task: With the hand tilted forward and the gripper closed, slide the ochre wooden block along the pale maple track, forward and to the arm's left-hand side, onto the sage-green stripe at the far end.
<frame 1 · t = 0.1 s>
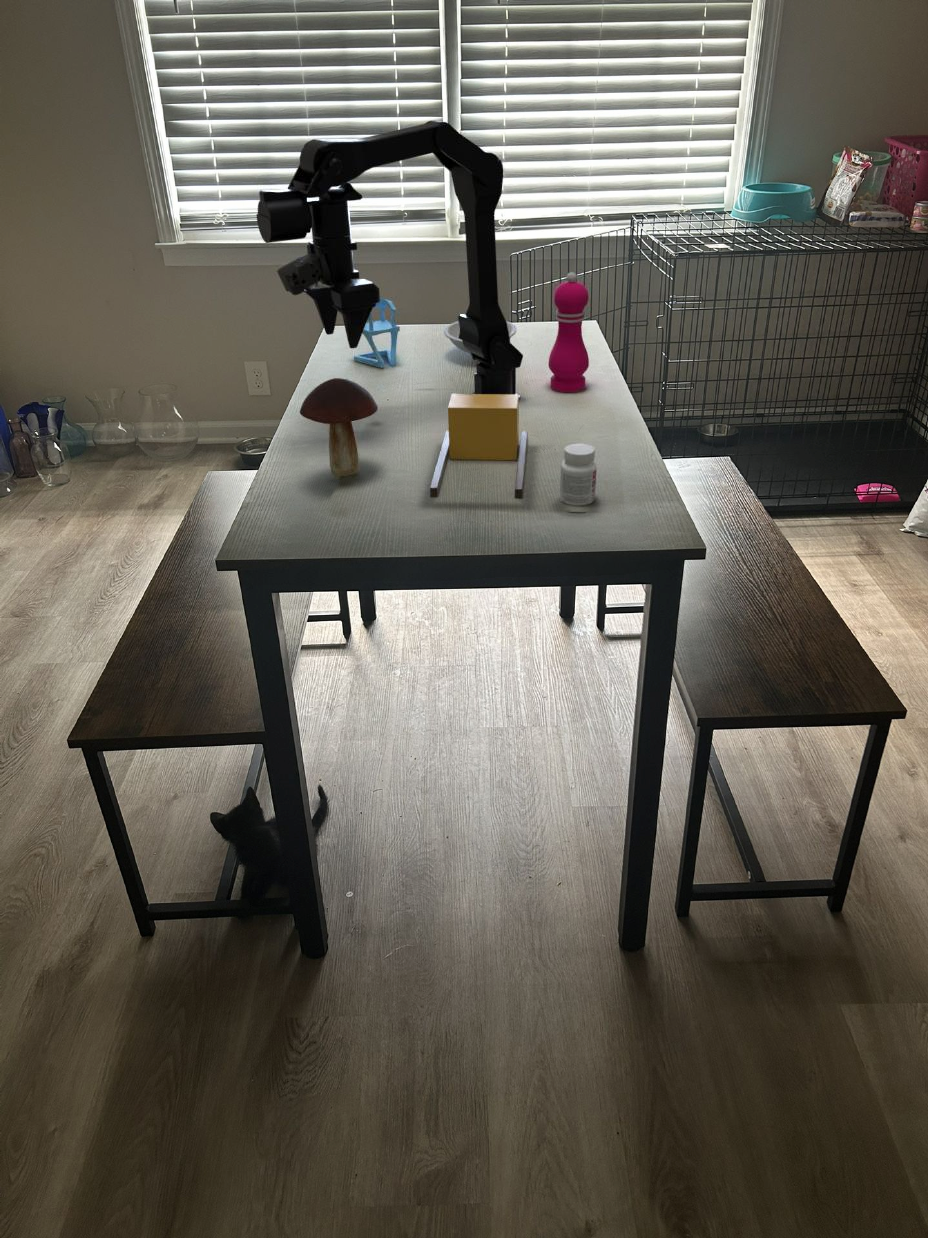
hand: (341, 340, 148), 15 cm above the table, tool pointing down, fingers open, 9 cm apart
ochre block: (484, 426, 141), point 5 cm above the table, slide at 0.0 cm
pepper mill: (567, 387, 172), on the table
decorative mushroom: (345, 480, 139), on the table
chair: (380, 362, 187), on the table
dish: (480, 355, 190), on the table
pill bottle: (576, 508, 129), on the table
maple track: (481, 475, 139), on the table
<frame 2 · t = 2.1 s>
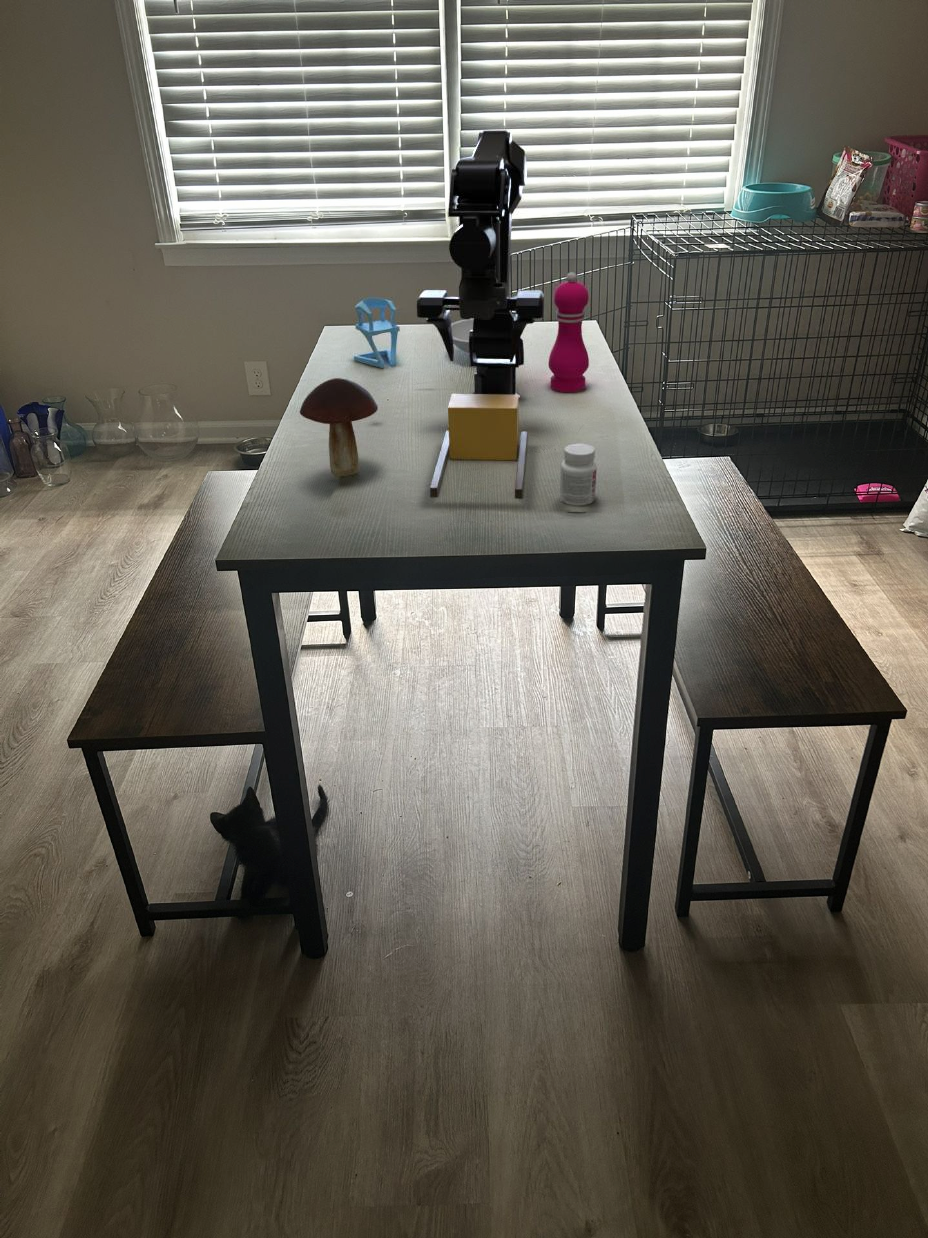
hand: (481, 361, 146), 12 cm above the table, tool pointing down, fingers open, 9 cm apart
nothing on the table moved.
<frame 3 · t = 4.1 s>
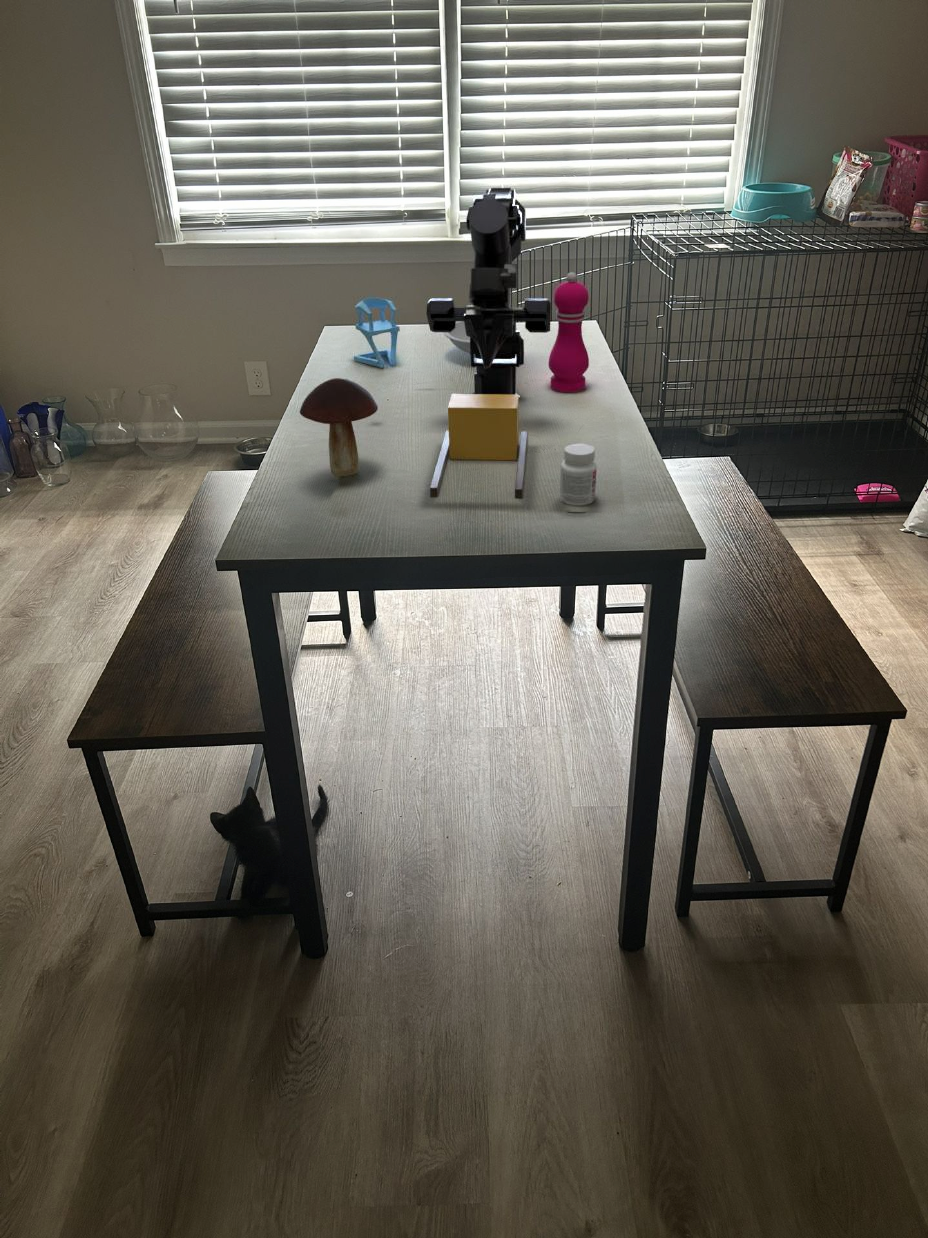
hand: (486, 366, 143), 12 cm above the table, tool tilted 45°, fingers closed
nothing on the table moved.
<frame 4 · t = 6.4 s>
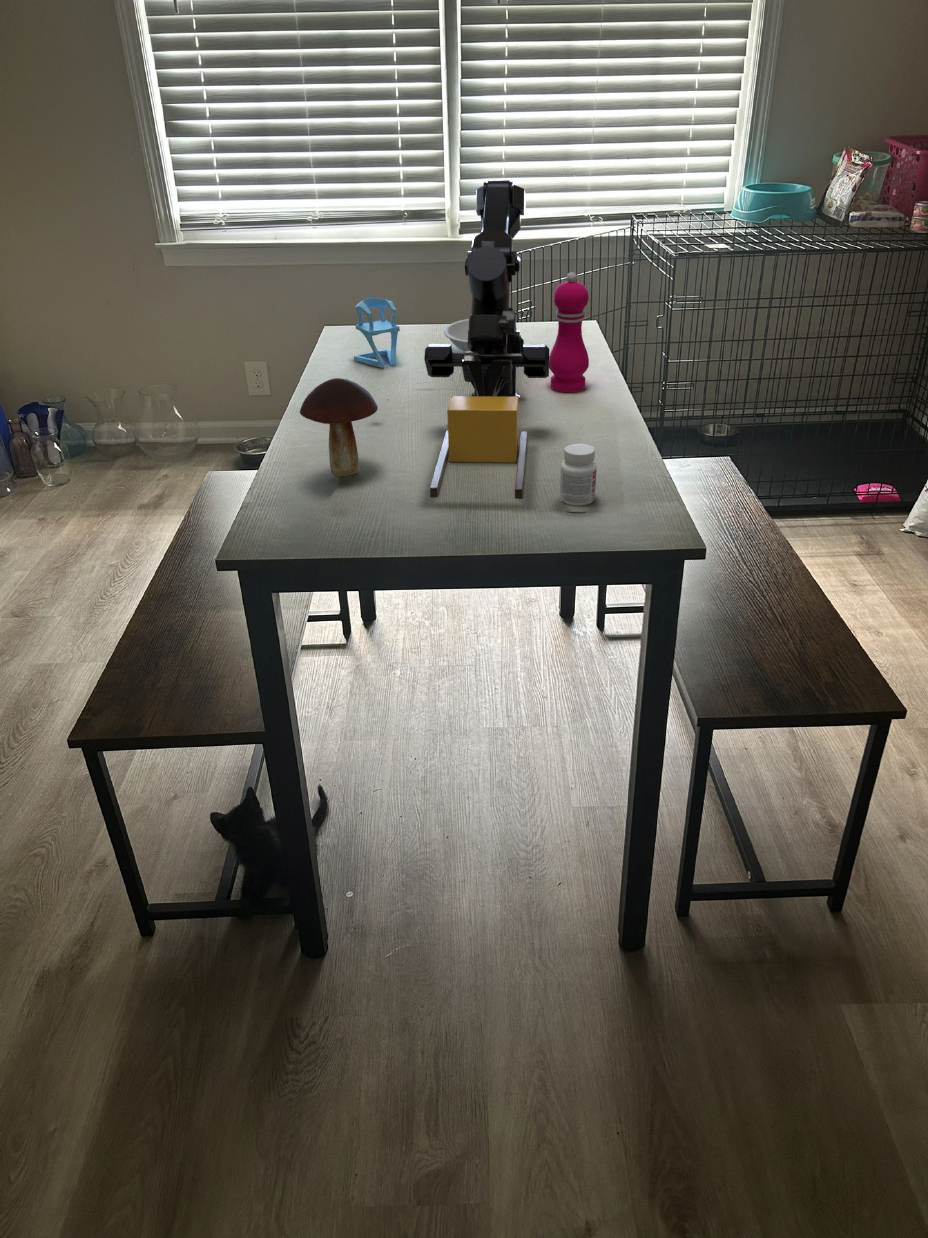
hand: (485, 412, 142), 7 cm above the table, tool tilted 45°, fingers closed, pressing on ochre block
ochre block: (483, 429, 140), point 5 cm above the table, slide at 1.0 cm, touching gripper
everything else where it was.
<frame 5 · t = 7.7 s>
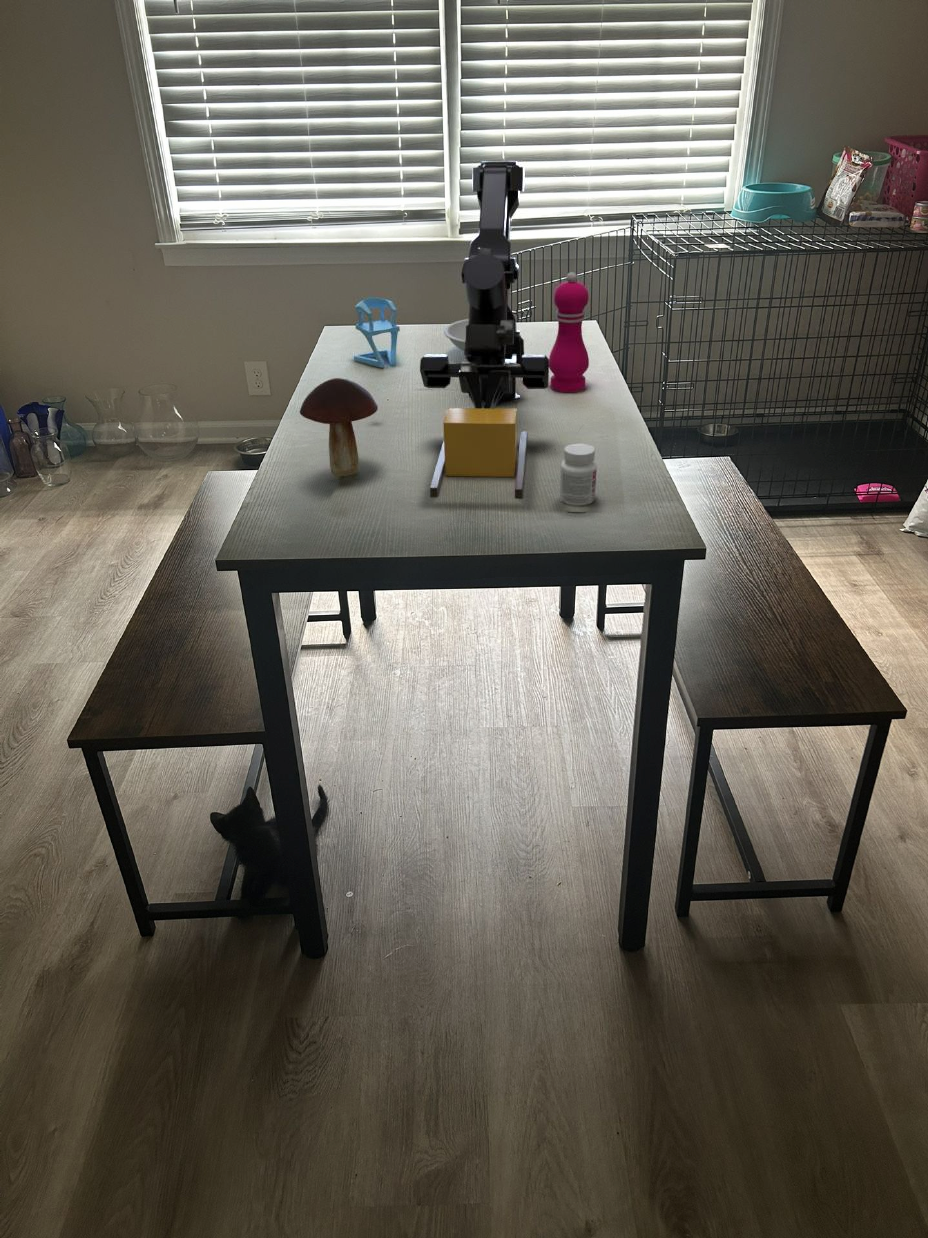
hand: (482, 425, 138), 7 cm above the table, tool tilted 45°, fingers closed, pressing on ochre block
ochre block: (481, 442, 136), point 5 cm above the table, slide at 6.1 cm, touching gripper
everything else where it was.
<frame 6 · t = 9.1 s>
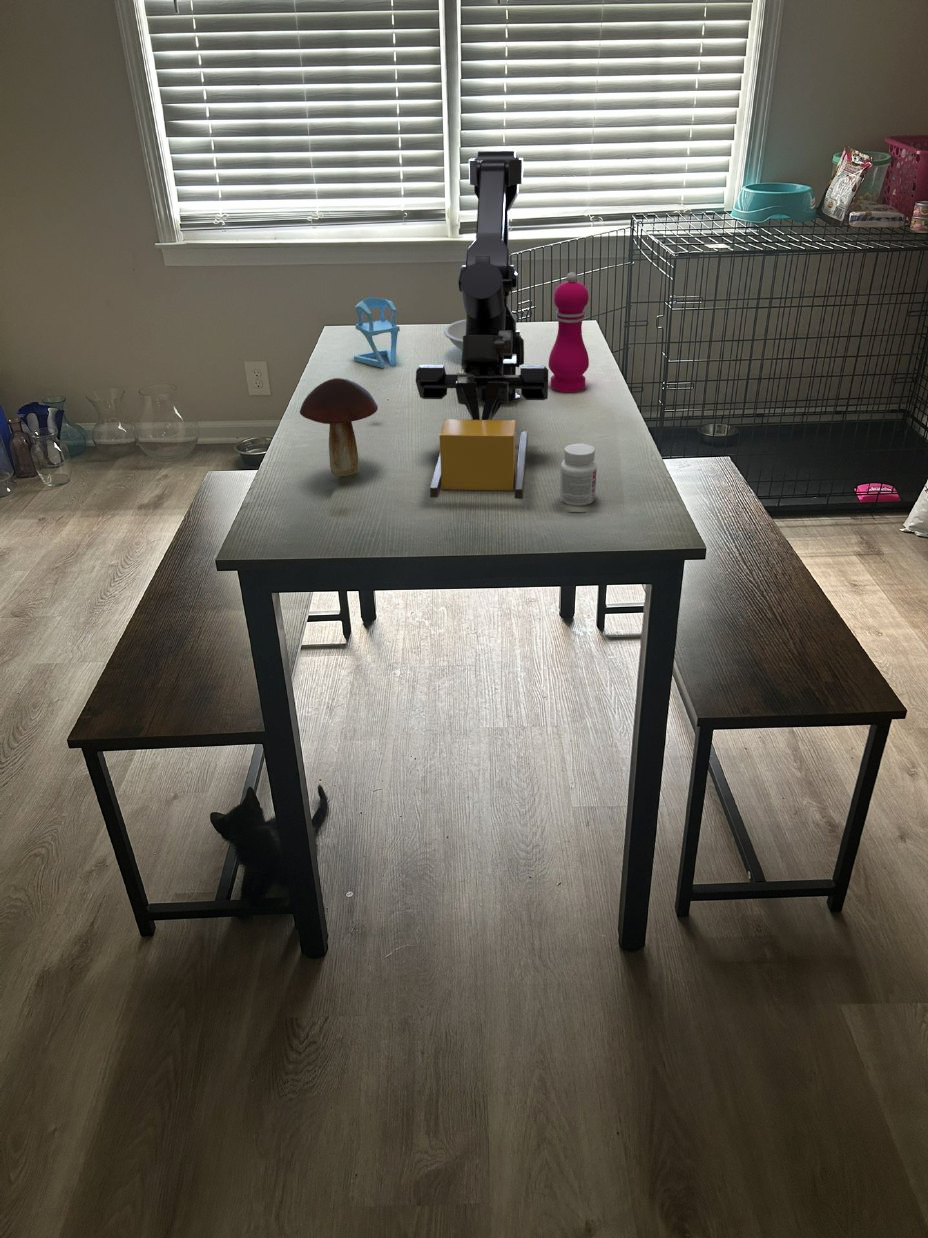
hand: (480, 437, 134), 7 cm above the table, tool tilted 45°, fingers closed
ochre block: (478, 454, 132), point 5 cm above the table, slide at 10.8 cm
everything else where it was.
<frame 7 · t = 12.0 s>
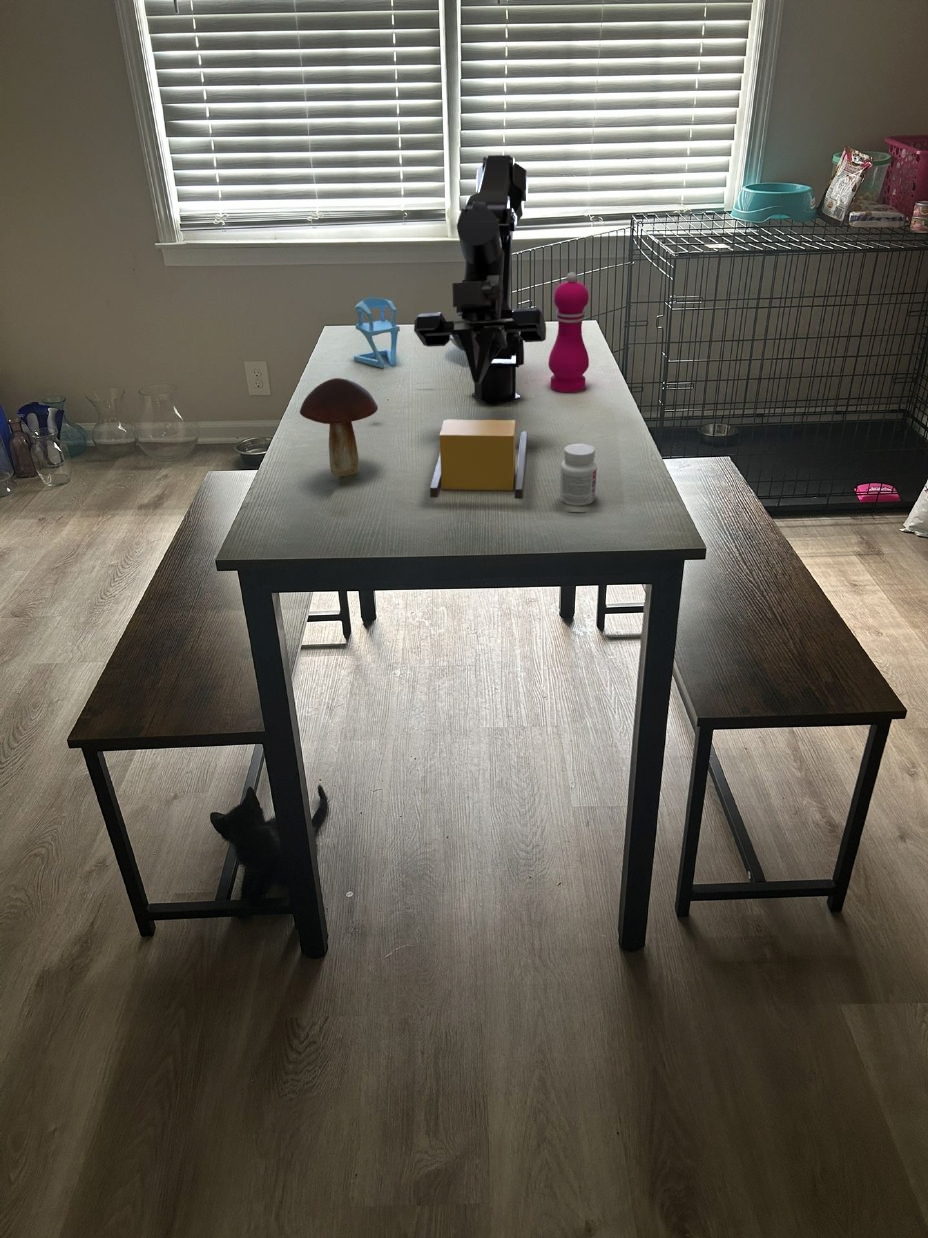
hand: (476, 382, 138), 12 cm above the table, tool tilted 40°, fingers closed
nothing on the table moved.
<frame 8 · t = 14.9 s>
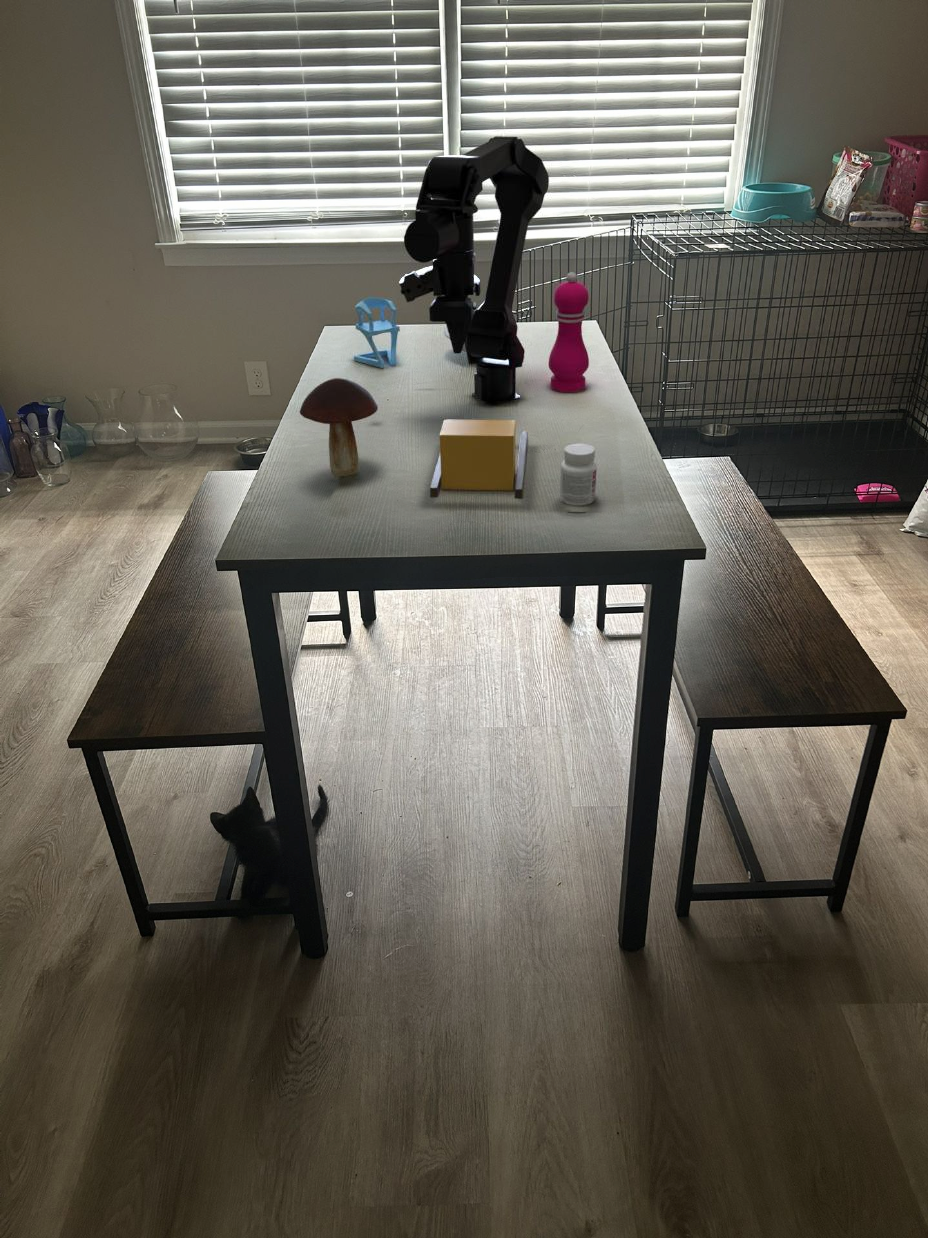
hand: (457, 352, 150), 12 cm above the table, tool pointing down, fingers closed
nothing on the table moved.
at the end: ochre block slide at 10.8 cm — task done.
